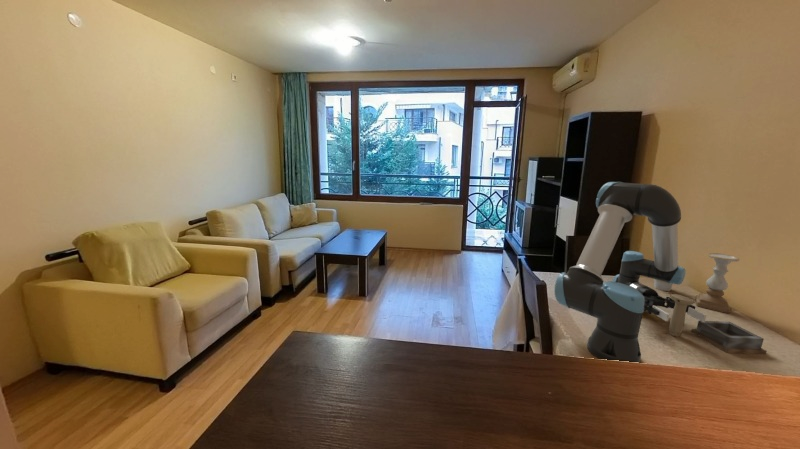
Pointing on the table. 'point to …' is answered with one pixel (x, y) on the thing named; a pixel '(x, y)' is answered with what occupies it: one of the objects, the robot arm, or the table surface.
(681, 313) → the handle
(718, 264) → the candle holder
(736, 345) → the socket
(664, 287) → the coffee cup
